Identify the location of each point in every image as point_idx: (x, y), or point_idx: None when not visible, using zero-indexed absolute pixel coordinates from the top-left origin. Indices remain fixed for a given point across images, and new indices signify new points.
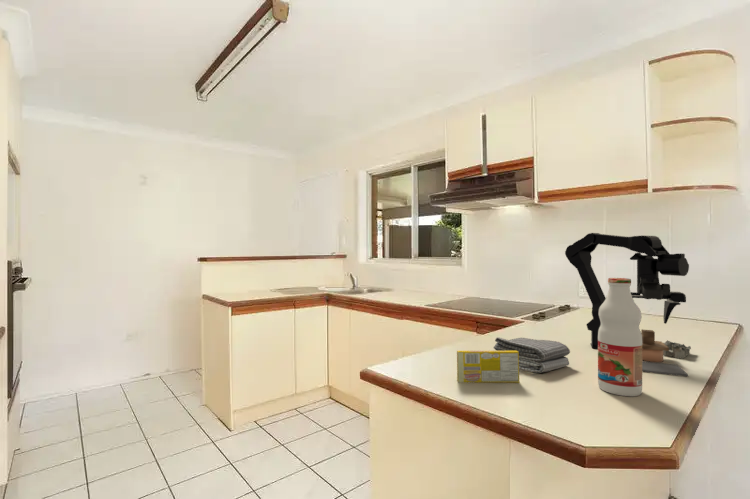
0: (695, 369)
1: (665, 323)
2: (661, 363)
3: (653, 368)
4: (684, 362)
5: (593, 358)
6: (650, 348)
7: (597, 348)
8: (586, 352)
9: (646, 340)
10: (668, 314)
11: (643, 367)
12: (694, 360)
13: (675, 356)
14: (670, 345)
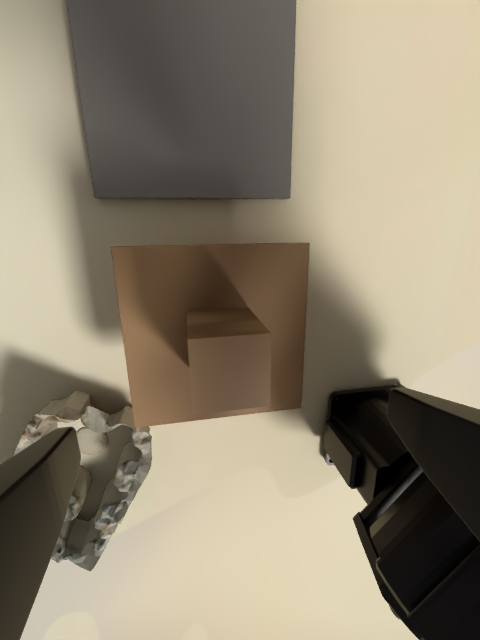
0: (11, 179)
1: (65, 429)
2: (169, 188)
3: (227, 38)
4: (53, 315)
5: (442, 197)
6: (218, 244)
7: (386, 386)
8: (441, 302)
9: (235, 313)
10: None
11: (274, 43)
12: (2, 381)
13: (83, 396)
14: (85, 541)
